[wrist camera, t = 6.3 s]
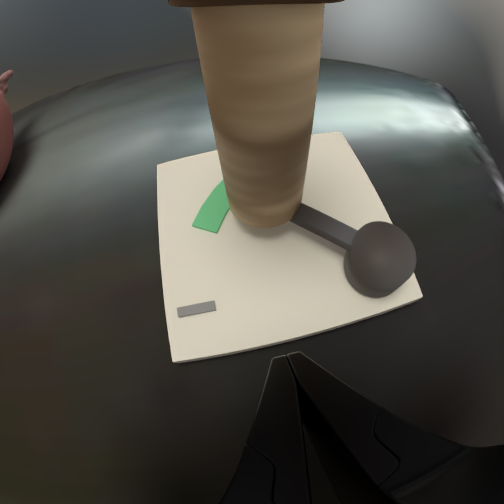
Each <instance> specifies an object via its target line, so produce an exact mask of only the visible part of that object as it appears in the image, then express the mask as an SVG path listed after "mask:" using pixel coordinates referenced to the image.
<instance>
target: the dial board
mask: <svg viewBox="0 0 504 504" xmlns="http://www.w3.org/2000/svg"><path fill="white" fill-rule="evenodd" d="M157 200H158V228H159V245H160V260H161V272H162V283H163V293H164V303H165V311H166V319H167V327H168V334H169V341H170V348H171V355H172V361H173V362H175V363H184V362H191V361H197V360H203V359H209V358H215V357H220V356H225V355H230V354H236V353H240V352H245V351H250V350H255V349H259V348H264V347H268V346H272V345H277V344H281V343H285V342H289V341H293V340H297V339H301V338H304V337H308V336H312V335H315V334H319V333H323V332H326V331H330V330H333V329H336V328H340V327H343V326H346V325H350V324H353V323H356V322H359V321H362V320H365V319H368V318H371V317H374V316H377V315H380V314H383V313H386V312H389V311H392V310H394V309H397V308H400V307H403V306H405V305H408V304H411V303H413V302H416V301H417V300H419V299H420V298H422V297H423V296H422V293H421V290H420V287H419V285H418V282H417V280H416V277H415V274H414V272H413V274H412V276H411V277H410V278H409V279H408V280H407V281H406V282H405V283H404V284H403V285H401V286H400V287H399V288H398V289H397V290H395V291H394V292H393V293H391V294H390V295H388V296H385V297H381V298H373V297H369V296H366V295H364V294H362V293H360V292H359V291H357V290H356V289H355V288H354V287H353V286H352V285H351V283H350V282H349V280H348V279H347V276H346V274H345V270H344V257H345V254H346V251H347V250H345V249H343V248H341V247H340V246H338V245H336V244H334V243H332V242H330V241H328V240H326V239H324V238H322V237H320V236H318V235H316V234H314V233H312V232H310V231H308V230H306V229H304V228H302V227H300V226H298V225H296V224H294V223H292V222H290V221H288V222H286V223H285V224H282V225H280V226H277V227H272V228H257V227H253V226H249V225H247V224H245V223H243V222H241V221H240V220H239V219H237V218H236V217H235V216H234V214H233V213H232V212H231V210H230V208H229V204H228V200H227V195H226V190H225V185H224V180H223V175H222V170H221V165H220V161H219V156H218V151H217V150H216V151H211V152H206V153H202V154H198V155H193V156H189V157H185V158H181V159H177V160H173V161H169V162H166V163H162V164H158V165H157ZM301 203H303V204H305V205H308V206H310V207H312V208H314V209H316V210H318V211H320V212H322V213H324V214H326V215H328V216H330V217H332V218H334V219H336V220H338V221H340V222H342V223H344V224H346V225H348V226H350V227H352V228H354V229H356V230H359V229H360V228H361V227H362V226H364V225H365V224H367V223H370V222H374V221H383V222H388V223H391V224H392V222H391V220H390V218H389V216H388V214H387V212H386V210H385V208H384V206H383V204H382V202H381V200H380V198H379V196H378V194H377V193H376V191H375V189H374V187H373V185H372V183H371V181H370V180H369V178H368V176H367V174H366V173H365V171H364V169H363V167H362V166H361V164H360V162H359V161H358V159H357V157H356V156H355V154H354V152H353V151H352V149H351V147H350V146H349V144H348V143H347V141H346V139H345V138H344V136H343V135H342V133H341V132H332V133H322V134H313V135H311V141H310V148H309V155H308V162H307V169H306V176H305V182H304V189H303V195H302V202H301Z"/></svg>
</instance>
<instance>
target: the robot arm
mask: <svg viewBox="0 0 504 504" xmlns="http://www.w3.org/2000/svg"><path fill="white" fill-rule="evenodd" d="M302 422H303V424H304V426H305V429H306V431H307V433H308V435H309V437H310V440H311V442H312V444H313V446H314V448H315V451H316V453H317V455H318V457H319V459H320V461H321V464H322V466H323V468H324V470H325V472H326V474H327V476H328V479H329V481H330V483H331V485H332V487H333V489H334V491H335V493H336V495H337V498H338V500H339V502H340V504H504V445H497V446H490V447H469V446H465V445H461V444H458V443H455V442H453V441H450V440H447V439H445V438H442V437H440V436H438V435H435V434H433V433H430V432H428V431H425V430H423V429H421V428H419V427H417V426H414V425H412V424H410V423H408V422H406V421H404V420H402V419H401V418H399V417H397V416H396V415H394V414H392V413H390V412H389V411H387V410H386V409H384V408H383V407H379V405H378V404H376V403H375V402H373V401H372V400H370V399H369V398H367V397H365V396H364V395H362V394H361V393H359V392H358V391H356V390H355V389H353V388H352V387H350V386H349V385H347V384H346V383H344V382H343V381H342V380H340V379H339V378H337V377H336V376H334V375H333V374H331V373H330V372H328V371H327V370H326V369H324V368H323V367H321V366H320V365H318V364H317V363H316V362H314V361H313V360H311V359H310V358H309V357H307V356H306V355H304V354H303V353H302V352H294V353H290V354H287V356H285V355H282V356H278V357H274V358H272V360H271V363H270V367H269V370H268V374H267V377H266V381H265V384H264V387H263V391H262V394H261V398H260V401H259V404H258V407H257V411H256V414H255V417H254V420H253V424H252V427H251V430H250V433H249V436H248V439H247V442H246V444H247V445H246V446H245V448H244V451H243V454H242V457H241V459H240V462H239V465H238V467H237V470H236V472H235V474H234V476H233V478H232V480H231V482H230V484H229V486H228V488H227V490H226V492H225V494H224V495H223V497H222V499H221V501H220V502H219V504H312V501H311V491H310V482H309V474H308V465H307V457H306V449H305V441H304V433H303V425H302Z"/></svg>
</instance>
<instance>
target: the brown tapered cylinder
mask: <svg viewBox="0 0 504 504" xmlns="http://www.w3.org/2000/svg"><path fill="white" fill-rule="evenodd" d="M341 1H344V0H168V3H169V5H171V6H175V7H176V6H177V7H190V8H191V12H192V19H193V24H194V30H195V35H196V41H197V46H198V52H199V57H200V63H201V68H202V73H203V79H204V84H205V89H206V94H207V100H208V105H209V110H210V115H211V120H212V125H213V130H214V136H215V141H216V146H217V151H218V156H219V161H220V165H221V170H222V175H223V180H224V185H225V190H226V195H227V200H228V204H229V208H230V210H231V212H232V213H233V214H234V216H235V217H236V218H237V219H239V220H240V221H241V222H243V223H245V224H247V225H249V226H253V227H257V228H272V227H277V226H280V225H282V224H285V223H286V222H288V221H290V222H292V223H294V224H296V225H298V226H300V227H302V228H304V229H306V230H308V231H310V232H312V233H314V234H316V235H318V236H320V237H322V238H324V239H326V240H328V241H330V242H332V243H334V244H336V245H338V246H340V247H341V248H343V249H345V250H347V251H346V254H345V257H344V270H345V274H346V276H347V279H348V280H349V282H350V283H351V285H352V286H353V287H354V288H355V289H356V290H357V291H359V292H360V293H362V294H364V295H366V296H369V297H373V298H381V297H385V296H388V295H390V294H391V293H393V292H394V291H395V290H397V289H398V288H399V287H400V286H401V285H403V284H404V283H405V282H406V281H407V280H408V279H409V278H410V277H411V276H412V274H413V272H414V270H415V266H416V252H415V249H414V246H413V244H412V242H411V240H410V239H409V237H408V236H407V235H406V234H405V233H404V232H403V231H402V230H401V229H400V228H398V227H397V226H395V225H393V224H391V223H388V222H383V221H374V222H370V223H367V224H365V225H364V226H362V227H361V228H360V229H359V230H356V229H354V228H352V227H350V226H348V225H346V224H344V223H342V222H340V221H338V220H336V219H334V218H332V217H330V216H328V215H326V214H324V213H322V212H320V211H318V210H316V209H314V208H312V207H310V206H308V205H305V204H303V203H301V202H302V195H303V189H304V182H305V176H306V169H307V162H308V155H309V148H310V141H311V133H312V125H313V117H314V109H315V101H316V92H317V83H318V74H319V64H320V53H321V43H322V31H323V17H324V3H335V2H341Z"/></svg>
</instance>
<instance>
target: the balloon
mask: <svg viewBox="0 0 504 504" xmlns="http://www.w3.org/2000/svg"><path fill="white" fill-rule="evenodd" d="M12 75H13V71H12V70H9V71H7V72H5V73H3V74H2V75H1V76H0V181H1V179H2V177H3V175H4V173H5V171H6V169H7V166H8V163H9V160H10V157H11V152H12V147H13V137H14V130H13V120H12V116H11V112H10V109H9V107H8V104H7V102H6V101H5V94H6V92H7V91H8V85H7V84H6V82H7V81H8V80H9V78H10V77H12Z"/></svg>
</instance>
